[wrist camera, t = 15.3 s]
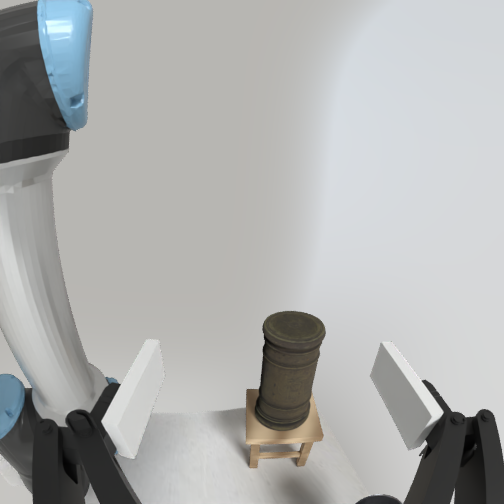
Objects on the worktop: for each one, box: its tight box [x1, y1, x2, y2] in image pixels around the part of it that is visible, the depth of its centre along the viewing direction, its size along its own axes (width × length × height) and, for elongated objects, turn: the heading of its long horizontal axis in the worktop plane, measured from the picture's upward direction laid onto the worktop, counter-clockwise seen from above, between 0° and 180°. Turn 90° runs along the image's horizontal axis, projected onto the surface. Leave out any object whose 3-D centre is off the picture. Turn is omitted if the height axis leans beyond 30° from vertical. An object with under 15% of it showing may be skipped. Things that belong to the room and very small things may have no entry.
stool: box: [246, 389, 323, 468], centre depth 41 cm, size 12×12×12 cm
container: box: [255, 311, 326, 431], centre depth 37 cm, size 9×9×18 cm
